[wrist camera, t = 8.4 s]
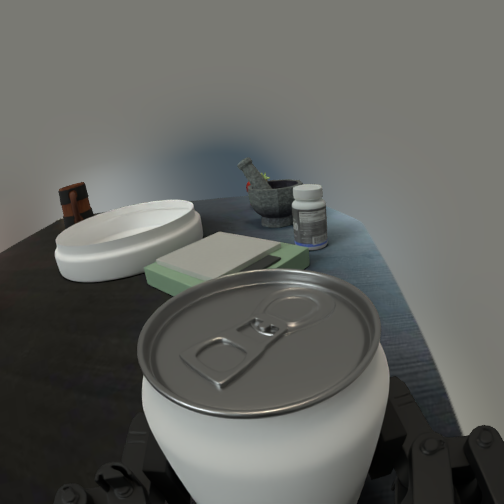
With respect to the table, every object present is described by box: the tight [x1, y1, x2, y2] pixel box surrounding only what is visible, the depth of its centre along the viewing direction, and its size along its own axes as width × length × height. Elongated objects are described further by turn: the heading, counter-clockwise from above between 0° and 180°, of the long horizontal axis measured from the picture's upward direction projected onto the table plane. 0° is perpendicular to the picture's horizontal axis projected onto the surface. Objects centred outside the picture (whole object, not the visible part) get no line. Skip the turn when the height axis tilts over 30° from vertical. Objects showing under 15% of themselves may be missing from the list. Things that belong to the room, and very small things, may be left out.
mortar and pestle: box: [238, 158, 303, 227], centre depth 56 cm, size 11×9×12 cm
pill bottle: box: [292, 184, 328, 250], centre depth 44 cm, size 5×5×8 cm
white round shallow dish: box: [55, 200, 203, 282], centre depth 53 cm, size 27×27×6 cm
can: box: [137, 268, 389, 504], centre depth 9 cm, size 6×6×12 cm
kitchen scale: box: [144, 232, 310, 296], centre depth 39 cm, size 15×14×3 cm
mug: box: [59, 182, 94, 229], centre depth 74 cm, size 9×12×12 cm
